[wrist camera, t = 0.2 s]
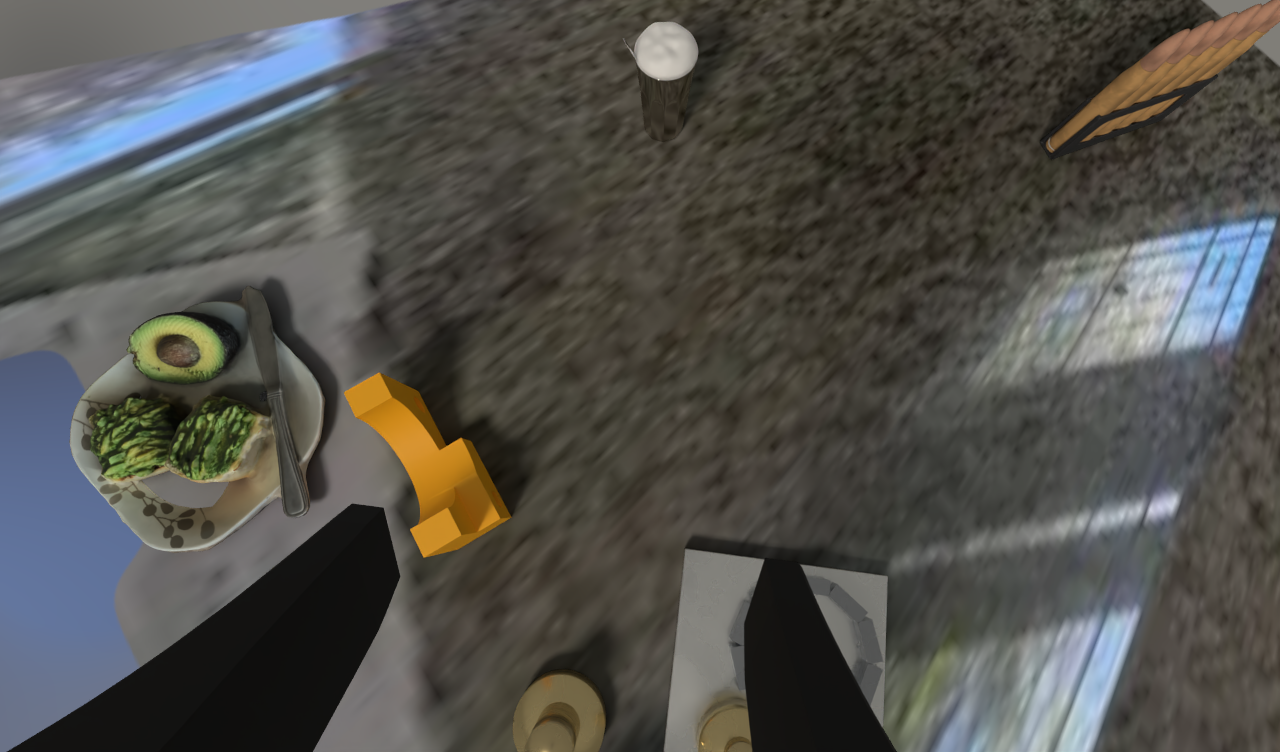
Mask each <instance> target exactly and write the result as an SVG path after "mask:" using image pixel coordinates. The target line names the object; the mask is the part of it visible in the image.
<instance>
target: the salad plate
mask: <svg viewBox="0 0 1280 752" xmlns="http://www.w3.org/2000/svg"><path fill="white" fill-rule="evenodd" d="M127 352H128V353H129V354H128V355H126V356H124V357H123V358H122V359H120V360H119V361H118V362H117V363H116V364H115V365H114V366H112V367H111V368H110V369H109V370H107V371H106V372H105V373H104V374H103V375H101V376H100V377H99V378H98V379H97V380H96V381H95V382H94V383H93V384H92V385H91V386H90V387H89V388H88V389H87V391H86V392H85V393H84V394H83V395H82V397H81V398H80V400H79V402H78V404H77V406H76V408H75V411H74V414H73V417H72V424H71V432H70V446H71V452H72V455H73V457H74V459H75V462H76V463H77V466H78V467H79V469H80V470H81V471H82V473H83V474H84V475H85V476H86V477H87V478H88V480H89V481H90V482H91V483H92V485H93V486H94V487H95V488H96V489H97V490H98V491H99V493H100V494H101V495H102V496H103V497H104V498H105V499H106V500H107V501H108V503H109V504H110V505H111V507H113V508H114V509H115V510H116V511H117V513H118V514H119V516H120V517H121V519H122V522H124V523H125V524H127V525H128V526H129V528H130V529H132V530H133V532H134V533H135V534H136V535H137V536H138V537H139V538H140V539H141V540H142V541H143V542H144V543H145V544H147V545H148V546H150V547H152V548H155V549H159V550H163V551H169V552H172V553H178V552H192V551H205V550H209V549H211V548H212V547H214V546H216V545H217V544H219V543H221V542H222V541H223V540H225V539H226V538H227V537H228V536H230V535H231V534H233V533H234V532H235V531H237V530H238V529H239V528H241V527H242V526H243V525H244V524H246V523H247V522H248V521H249V520H251V519H252V518H253V517H254V516H256V515H257V514H258V513H259V512H260V511H261V510H262V509H263V508H264V507H265V506H266V505H268V504H269V503H271V502H272V501H273V500H275V499H276V498H278V497H281V498H282V504H283V510H284V513H285V514H286V515H287V516H288V517H292V518H297V517H301V516H303V515H305V514H306V513H307V512H308V510H309V507H310V499H309V492H308V487H307V481H306V470H307V466H308V463H309V461H310V459H311V457H312V455H313V453H314V451H315V449H316V447H317V445H318V443H319V441H320V439H321V435H322V427H323V418H324V407H325V398H324V396H323V394H322V391H321V387H320V385H319V383H318V382H317V380H316V379H315V377H314V376H313V374H312V373H311V372H310V370H309V369H308V368H307V366H306V365H305V364H304V363H303V362H302V361H301V360H300V359H299V358H298V357H296V356H295V355H294V353H293V352H292V351H291V350H290V349H289V348H288V347H287V346H286V345H285V344H284V343H283V342H282V341H281V340H280V339H279V338H278V336H277V335H276V333H275V331H274V328H273V322H272V318H271V314H270V311H269V308H268V306H267V303H266V301H265V299H264V297H263V294H262V292H261V291H260V290H257V289H254V288H252V287H250V286H247V287H246V288H245V290H243V291H242V298H241V300H238V301H231V302H219V301H214V302H204V303H200V304H196V305H194V306H191V307H188V308H187V309H185V310H184V311H182V312H175V313H167V314H162V315H158V316H156V317H154V318H152V319H150V320H148V321H146V322H144V323H143V324H141V325H140V326H139V327H138V328H136V330H134V331H133V333H132V334H131V335H130V336H129V347H128V348H127ZM265 391H267V400H266V401H263V402H262V401H261V400H260V395H261V393H263V392H265ZM140 396H141V399H139V397H140ZM169 470H170V471H171V472H173V473H175V474H177V475H179V476H181V477H184V478H187V479H189V480H191V481H194V482H199V483H209V482H229V484H228V487H227V488H226V489H225V491H224V493H223V495H222V496H221V497H220V499H219V500H218V501H217V502H216V504H215V505H214V506H212V507H206V508H188V507H182V506H177V505H174V504H171V503H169V502H167V501H165V500H163V499H161V498H159V497H158V496H157V495H156V494H155V493H153V492H152V491H151V490H150V489H149V488H148V487H147V486H146V485H145V484H144V483H143V482H142V479H145V478H148V477H151V476H154V475H157V474H160V473H164V472H166V471H169Z"/></svg>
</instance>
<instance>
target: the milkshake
mask: <svg viewBox="0 0 1280 752" xmlns="http://www.w3.org/2000/svg"><path fill="white" fill-rule="evenodd" d="M623 40H624V42H625V44H626V46H627V47H628V49H629V50H630V52H631V53H632V55H633V56H634V58H635V60H636V67H637V73H638V79H639V85H640V93H641V101H642V110H643V119H644V127H645V131H646V132H647V133H648V134H649V136H650V137H651V138H652V139H655V140H658V141H662V142H665V141H668V140H672V139H675V138H676V136H677V135H678V134H679V133H680V132H681V130H682V126H683V121H684V117H685V112H686V107H687V102H688V97H689V92H690V87H691V83H692V79H693V74H694V70H695V66H696V62H697V58H698V46H697V43H696V41H695V39H694V37H693V35H692V34H691V33H690V32H689V31H688V30H686V29H685V28H683V27H682V26H680V25H679V24H677V23H674V22H656V23H653V24H652V25H650V26H649V27H647V28H646V30H645V31H644V32H643V33H642V34H641V35H640V36H639V38H638V39H637V41H636V44H635V50H634V53H635V55H634V53H633V52H632V50H631V48H630V47H629V45H628V44H627V42H626V41H625V39H624V38H623Z"/></svg>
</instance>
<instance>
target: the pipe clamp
mask: <svg viewBox="0 0 1280 752" xmlns="http://www.w3.org/2000/svg"><path fill="white" fill-rule="evenodd" d="M344 394H345V396H346V398H347V400H348V402H349V404H350V406H351V409H352V411H353V413H354V415H355V417H356V418H358V419H361V420H363V421H364V422H366V423H368V424H369V425H370V426H372V427H373V428H374V429H375V430H376V431H377V432H379V433H380V434H381V435H382V436H383V438H384V439H385V440H386V441H387V442H388V443H389V444H390V446H391V447H392V448H393V450H394V451H395V452H396V454H397V455H398V457H399V458H400V460H401V461H402V463H403V465H404V466H405V468H406V470H407V472H408V474H409V476H410V478H411V480H412V482H413V484H414V487H415V490H416V492H417V496H418V499H419V504H420V521H419V523H418V525H417V526H415V527H413V528H412V529H410V530H411V532H412V534H413V536H414V538H415V540H416V543H417V545H418V547H419V549H420V551H421V553H422V555H423V557H424V558H425V557H429V556H433V555H437V554H441V553H445V552H449V551H453V550H457V549H459V548H461V547H463V546H464V545H466V544H468V543H469V542H471V541H473V540H474V539H476V538H478V537H479V536H481V535H483V534H484V533H486V532H488V531H489V530H491V529H493V528H494V527H496V526H498V525H499V524H501V523H503V522H504V521H506V520H508V519H509V518H511V516H510V514H509V512H508V510H507V508H506V506H505V504H504V502H503V500H502V499H501V497H500V495H499V493H498V491H497V489H496V487H495V485H494V483H493V482H492V480H491V478H490V476H489V474H488V472H487V470H486V468H485V466H484V464H483V463H482V461H481V459H480V457H479V455H478V453H477V451H476V449H475V447H474V446H473V444H472V442H471V441H469V440H466V439H463V438H460V439H458V440H457V441H455V442H453V443H451V444H450V445H448V446H446V444H445V442H444V440H443V438H442V436H441V434H440V432H439V430H438V428H437V426H436V424H435V422H434V421H433V419H432V417H431V415H430V413H429V411H428V409H427V407H426V405H425V403H424V401H423V399H422V397H421V395H420V393H419V392H418V391H417V390H415V389H413V388H411V387H409V386H407V385H404V384H402V383H400V382H398V381H396V380H394V379H392V378H390V377H388V376H386V375H384V374H381V373H378V374H376V375H374V376H372V377H371V378H369V379H367V380H365V381H363V382H362V383H360V384H358V385H356V386H354V387H353V388H351V389H349V390H347V391H345V392H344Z"/></svg>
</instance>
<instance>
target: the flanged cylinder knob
mask: <svg viewBox="0 0 1280 752" xmlns="http://www.w3.org/2000/svg"><path fill="white" fill-rule="evenodd" d="M605 726H606V708H605V703H604V700H603V697H602V695H601V693H600V691H599V690H598V688H597V687H596V685H595V684H594V683H593V682H592V681H591V680H590V679H589V678H588V677H586V676H585V675H583V674H581V673H579V672H576V671H573V670H569V669H558V670H553V671H550V672H547V673H545V674H543V675H541V676H540V677H538V678H537V679H536V680H535V681H534V682H533V683H532V684H531V685H530V686H529V687H528V689H527V690H526V692H525V693H524V695H523V696H522V698H521V699H520V701H519V703H518V705H517V708H516V711H515V714H514V719H513V736H514V741H515V745H516V748H517V750H518V752H598V751H599V749H600V747H601V744H602V741H603V737H604V731H605Z"/></svg>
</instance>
